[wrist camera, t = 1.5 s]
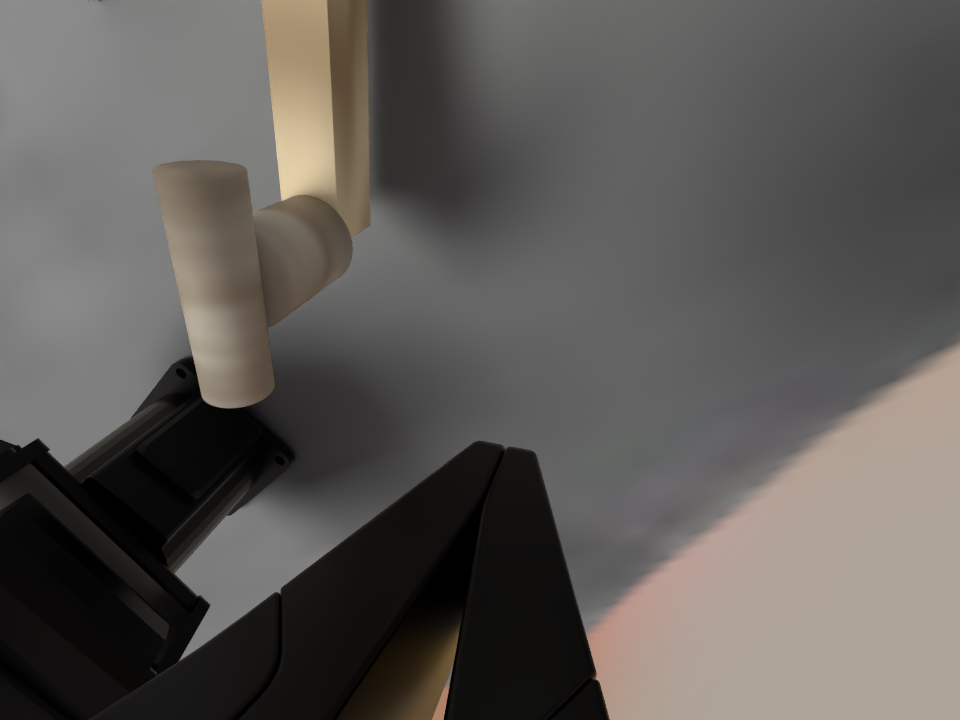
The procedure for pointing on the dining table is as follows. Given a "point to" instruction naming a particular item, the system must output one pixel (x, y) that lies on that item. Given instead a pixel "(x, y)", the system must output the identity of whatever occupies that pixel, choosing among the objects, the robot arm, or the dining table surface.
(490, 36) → the dining table surface
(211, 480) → the robot arm
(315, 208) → the crank
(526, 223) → the dining table surface
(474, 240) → the dining table surface
